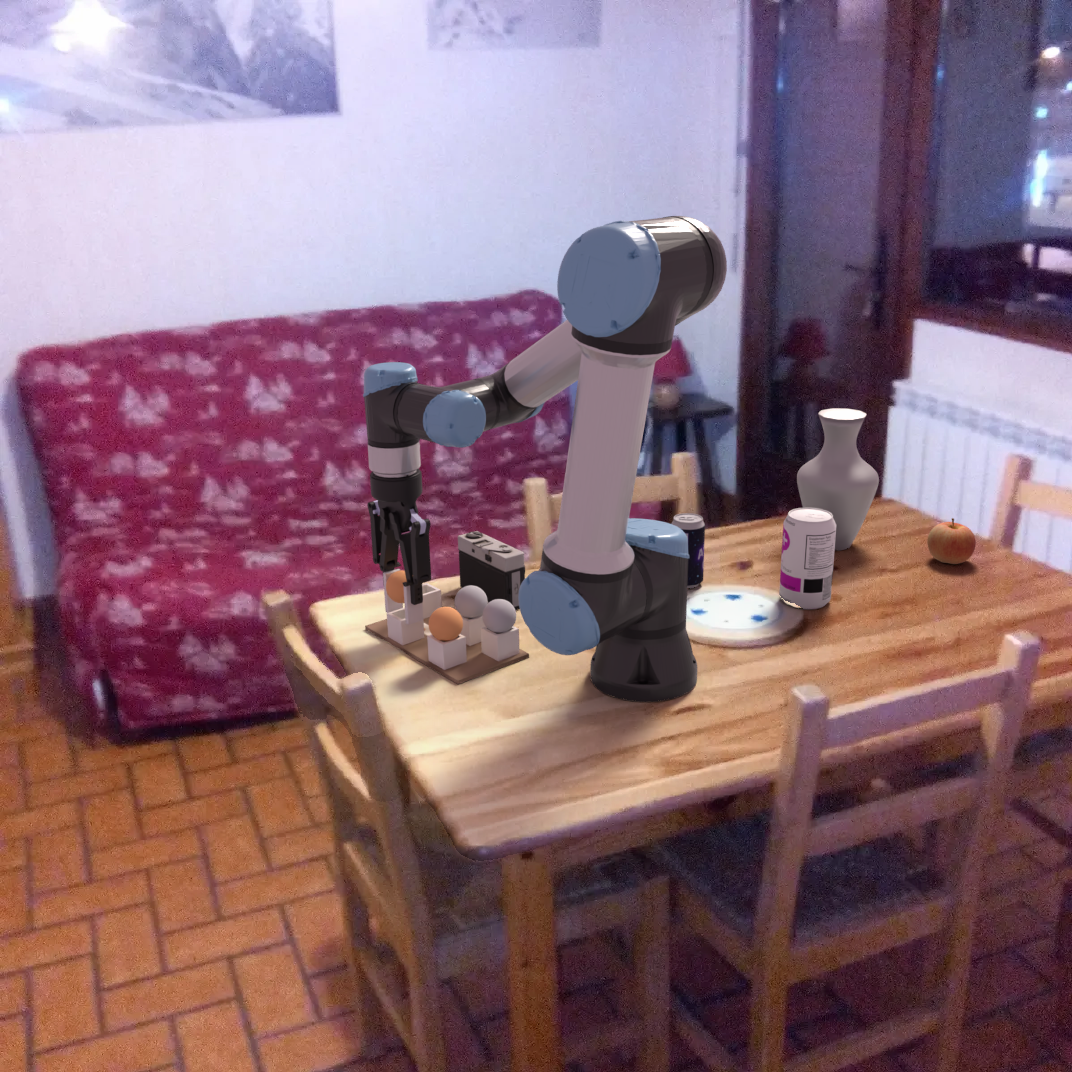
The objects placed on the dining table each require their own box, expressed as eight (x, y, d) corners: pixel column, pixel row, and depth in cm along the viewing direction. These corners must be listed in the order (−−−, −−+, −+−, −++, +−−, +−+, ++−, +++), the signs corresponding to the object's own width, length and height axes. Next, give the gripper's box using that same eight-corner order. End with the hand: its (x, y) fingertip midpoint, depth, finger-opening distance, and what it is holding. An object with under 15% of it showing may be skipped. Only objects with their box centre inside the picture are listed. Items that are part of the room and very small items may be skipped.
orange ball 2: (470, 640, 163) (469, 608, 162) (442, 650, 160) (440, 618, 159) (450, 629, 167) (449, 598, 165) (422, 638, 164) (420, 607, 162)
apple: (921, 552, 204) (925, 511, 201) (967, 554, 203) (972, 512, 200) (929, 569, 197) (934, 526, 194) (977, 570, 196) (982, 527, 193)
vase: (887, 542, 209) (899, 411, 201) (848, 564, 199) (859, 427, 191) (818, 526, 219) (827, 400, 210) (778, 546, 209) (785, 414, 200)
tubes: (519, 653, 167) (518, 628, 166) (456, 677, 160) (455, 651, 159) (428, 605, 184) (426, 582, 183) (367, 624, 178) (366, 601, 176)
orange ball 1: (426, 602, 171) (424, 571, 169) (398, 611, 168) (396, 579, 166) (408, 593, 174) (406, 563, 173) (380, 602, 171) (378, 571, 170)
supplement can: (774, 607, 183) (780, 519, 177) (784, 588, 190) (789, 504, 185) (825, 613, 180) (832, 525, 175) (833, 594, 187) (840, 509, 182)
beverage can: (701, 591, 189) (704, 524, 185) (668, 589, 190) (669, 522, 186) (704, 578, 195) (706, 513, 190) (671, 576, 196) (672, 511, 192)
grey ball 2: (523, 632, 166) (522, 600, 164) (496, 641, 163) (495, 610, 161) (502, 621, 169) (501, 590, 168) (476, 630, 166) (474, 599, 165)
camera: (545, 600, 187) (544, 544, 184) (505, 613, 182) (503, 556, 179) (497, 576, 198) (495, 522, 194) (457, 588, 193) (455, 533, 190)
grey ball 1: (494, 617, 171) (493, 587, 169) (468, 626, 168) (466, 595, 166) (475, 607, 174) (473, 577, 173) (448, 616, 172) (447, 586, 170)
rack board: (529, 657, 167) (528, 651, 167) (457, 684, 159) (457, 678, 159) (433, 607, 185) (433, 602, 185) (365, 629, 178) (365, 624, 177)
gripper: (452, 478, 160) (458, 627, 168) (384, 452, 173) (393, 592, 181) (407, 489, 155) (416, 642, 163) (341, 462, 168) (352, 604, 176)
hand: (404, 615), depth 172 cm, fingers closed on orange ball 1, 5 cm apart
